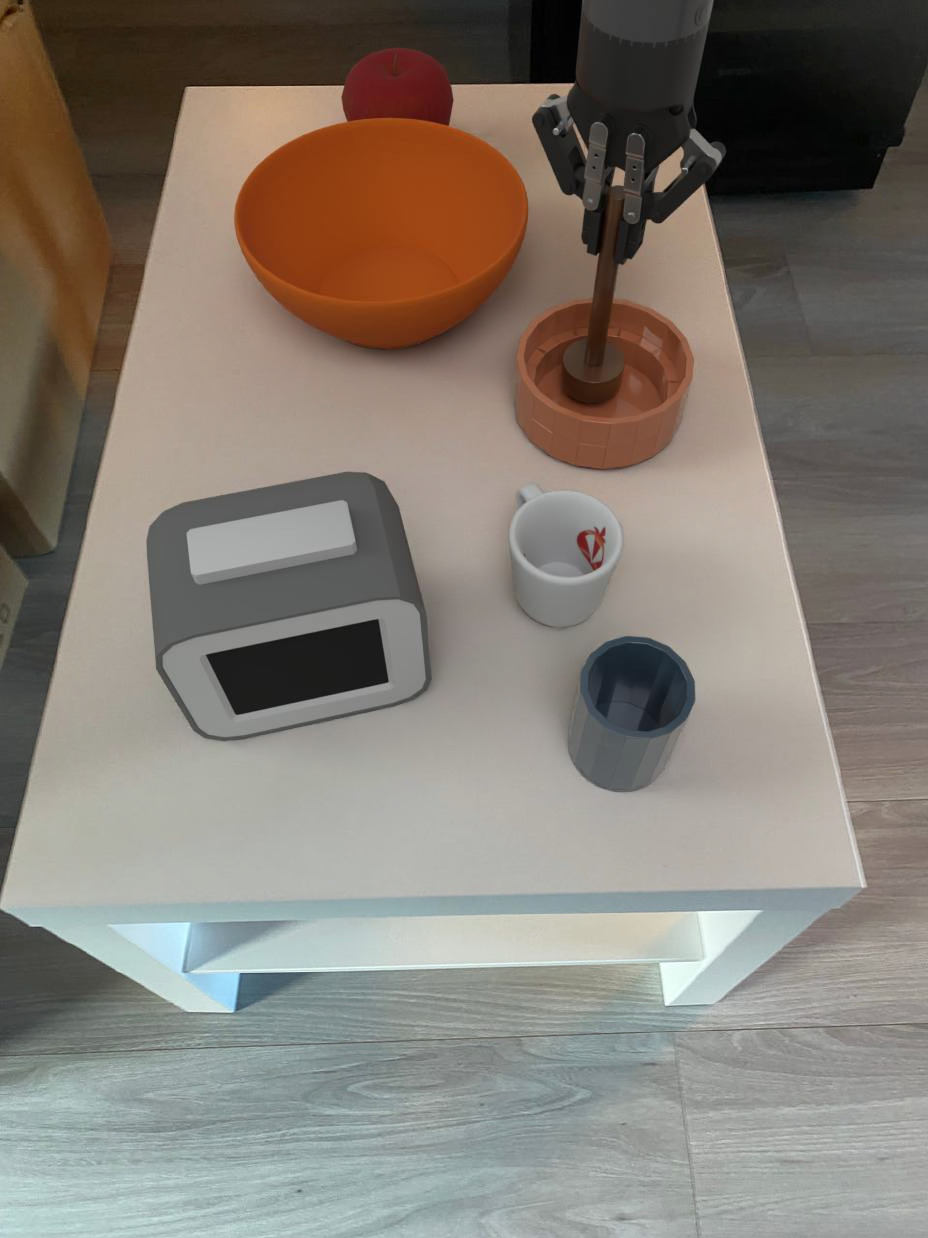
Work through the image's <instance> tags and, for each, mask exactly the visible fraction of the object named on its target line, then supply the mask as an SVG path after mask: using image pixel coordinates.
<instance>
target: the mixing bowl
mask: <svg viewBox="0 0 928 1238" xmlns="http://www.w3.org/2000/svg"><path fill="white" fill-rule="evenodd" d="M592 299H593V297H586V298H577V299H572V300H568V301H566V302H564V303H560V304H557V305H555V306H552V307H550V308H548V309H546V311H544V312H542V313H541V314H539V315H538V316H537V317H535V318H534V319H533V320H532V321H531V322H530V323H529V324H528V326H527V328H526V329H525V331H524V332H523V333H522V335H521V336H520V338H519V343H518V346H517V350H516V351H517V352H516V356H515V372H514V373H515V375H514V395H513V406H514V410H515V411H514V412H515V414H516V419H517V423H518V424H519V426H520V428H521V429H522V430H523V432H524V433H525V435H526V436H527V438H528V439H529V440H530V441H531V442H532V443H533V444H534V445H536V447H538V448H539V449H541V450H542V451H544V452H545V453H546V454H547V455H549V456H550V457H553V458H555V459H557V460H560V461H563V462H565V463H567V464H569V465H572V466H578V467H586V468H593V469H600V470H605V469H615V468H623V467H631V466H633V465H635V464H638V463H640V462H643V461H645V460H649V459H650V458H652V457H654V456H655V455H657V454H658V453H659V452H660V451H661V450H662V449H664V448H665V447H667V446H668V445H669V444H670V443H671V441H672V439H673V438H674V436H675V434H676V432H677V431H678V429H679V427H680V424H681V422H682V418H683V416H684V415H683V414H684V410H685V408H686V403H687V401H688V400H687V399H688V397H689V393H690V389H691V385H692V381H693V378H694V366H695V365H694V363H695V357H694V355H693V351H692V349H691V346H690V344H689V341H688V339H687V337H686V336H685V335H684V334H683V332H682V331H681V330H680V329H679V328H678V327H677V325H676V324H675V323H674V322H673V321H672V320H671V319H669V318H667V317H666V316H665V315H662V314H661V313H659V312H658V311H656V310H654V309H653V308H652V307H649V306H646V305H642V304H639V303H637V302H633V301H631V300H628V299H624V298H623V299H621V298H613V305H612V311H611V317H610V323H609V329H608V335H607V341H608V342H610V343H612V344H614V345H615V346H617V347H618V348H619V349H620V350H621V352H622V353H623V356H624V359H625V366H624V371H623V377H622V382H621V387H620V389H619V391H618V392H617V394H616V395H615V396H613V397H612V398H610V399H609V400H606V401H603V402H599V403H586V402H581V401H578V400H576V399H574V398H572V397H571V396H569V395H568V394H567V393H566V392H565V391H564V389H563V388H562V385H561V382H560V377H561V368H562V359H563V354H564V352H565V350H566V349H567V347H568V346H570V345H571V344H572V343H574V342H576V341H578V340H582V339H587V335H588V328H589V321H590V314H591V306H592Z"/></svg>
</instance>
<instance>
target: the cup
mask: <svg viewBox="0 0 928 1238" xmlns="http://www.w3.org/2000/svg"><path fill="white" fill-rule="evenodd" d="M515 507H516V512H515V513H514V515H513V517H512V518H511V521H510V524H509V528H508V540H507V541H508V548H509V557H510V565H511V573H512V582H513V589H514V593H515V596H516V597H515V598H516V599H517V602H518V603H519V604H518V605H519V606H520V607H521V609H522V610H523V612H525V614H526V615H528V617H530V618H531V619H532V620H534V621H536V622H538V623H540V624H542V625H544V626H549V627H553V628H555V627H556V628H566V627H572V626H575V625H578V624H580V623H582V622H584V621H586V620H587V619H588V618H590V617H591V616H592V615H593V614H594V613H595V612H596V611H597V610H598V608H599V607H600V606H601V603H602V602H603V600H604V597H605V595H606V592H607V590H608V588H609V585H610V583H611V580H612V578H613V576H614V573H615V571H616V568H617V566H618V564H619V561H620V559H621V557H622V554H623V550H624V546H625V545H624V544H625V537H624V536H625V535H624V530H623V527H622V524H621V521H620V520H619V518H618V516H617V515H616V514H615V512H614V511H613V510H612V509H611V507H609V506H608V505H607V504H606V503H605V502H603V501H602V500H601V499H599V498H596V497H595V496H593V495H590V494H589V493H585V492H581V491H578V490H570V489H569V490H568V489H558V490H551V491H546V492H544V490H543V489H542V488H541V487H540V485H538V484H537V483H536V482H528V483H525V484H522V485H520V486H518V488H517V489H516V494H515Z"/></svg>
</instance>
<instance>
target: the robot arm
mask: <svg viewBox="0 0 928 1238" xmlns="http://www.w3.org/2000/svg"><path fill="white" fill-rule="evenodd" d="M713 6H714V0H582V3H581V14H580V24H579V32H578V33H579V34H578V44H577V54H576V66H575V77H576V78H575V81H574V83H573V86H572V87H571V88H570V89H569V91H568V92H567V93H568V94H566V95H564V96H560V95H559V94H557V93H552V94H549V96H548V97H547V98H546V99H545V100H544V101H543V102H542V103H541V105H539V107H538V108H537V110H536V111H535V112H534V114H533V115H532V117H531V123H532V125H533V127H534V131H535V132H536V135H537V138H538V140H539V142H540V144H541V146H542V148H543V151H544V154H545V156H546V159H547V160H548V163H549V165H550V168H551V170H552V173H553V175H554V177H555V180H556V181H557V184H558V186H559V188H560V190H561V192H562V193H563V194H564V195H566V196H573V195H575V196H576V197H577V198H578V199H580V200H581V203H582V206H583V207H584V210H583V218H582V227H581V235H580V237H581V243H582V244H583V245H586V253H587V254H589V255H592V256H595V257H598V255H599V249H600V241H601V234H602V227H603V220H604V213H605V205H606V198H607V191H608V189H609V188H610V187H612V186H613V183H614V178H615V174H616V173H615V172H616V168H618V169H619V170H621V171H623V172H624V178H623V186H624V187H623V192H625V201H624V211H623V217H622V219H621V220H620V224H619V231H618V237H617V244H616V250H615V256H614V262H615V263H618V264H619V265H621V266H624V265H626V262H627V261H628V260H631V261H632V260H633V258H634V257H635V255H636V254H637V253H638V251H639V250H640V248H641V247H642V245H643V243H644V237H645V232H646V226H647V221H651V222H652V223H654V224H657V225H660V224H663V223H664V222H665V221H666V220H667V219H668V218H669V217H670V216H671V215H672V214H674V212H675V211H677V210H678V209H679V208H680V207H681V206H682V205H683V204H684V203H685V202H686V201H687V200H688V199H689V198H690V197H691V196H692V195H694V194H695V193H696V192H697V191H698V190H699V189H700V188H701V187H702V186H703V185H704V184H706V182H707V181H708V180H710V179H711V177H712V176H713V174H714V173H715V171H716V170H717V168H718V167H719V165H720V164H721V162H722V161H723V159H724V157H725V156H726V153H727V149H726V146H725V144H723V143H722V142H720V141H713V142H711V143H709V142H708V141H707V140H706V139H705V138H704V137H703V136H702V134H701V133H700V132H699V131H697V130H696V126H697V114H696V111H695V106H694V98H695V93H696V89H697V83H698V79H699V73H700V68H701V64H702V59H703V54H704V50H705V45H706V39H707V36H708V35H707V34H708V30H709V25H710V20H711V15H712V11H713ZM574 125H575V127H576V129H577V131H578V134H579V136H580V138H581V139H582V142H583V144H584V146H585V148H586V150H587V154H586V155H585V152H584V149H583V148H582V146H581V143H580V139H579V137H578V135H577V132H576V130H575V128H574ZM680 148H682V150H683V151H682V152H683V157H682V158H681V160H680V162H679V168H680V171H681V172H680V173H679V174H678V175H677V176H676V177H675V178H674V179H673V180H672V181H671V182H670V183H669V184H668V185H667V186H666V187H665V188H664V189H663V190H662V191H655V184H656V178H657V174H658V172H659V169H660V165H661V164H663V163H664V162H665V161H666V160H667V159H669V158H670V157H671V156H672V155H673V154H674V153H676V152H677V151H678V150H680Z"/></svg>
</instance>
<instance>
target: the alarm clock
mask: <svg viewBox="0 0 928 1238" xmlns="http://www.w3.org/2000/svg"><path fill="white" fill-rule="evenodd" d="M145 543H146V562H147V571H148V572H147V573H148V583H149V584H148V586H149V597H150V611H151V622H152V634H153V636H152V637H153V646H154V647H153V648H154V659H155V670H156V672H157V673H158V675H159V677H160V678H161V680H162V681H163V683H164V685H165V686H166V688H167V690H168V691H169V693H170V695H171V696H172V698H173V700H174V701H175V703H176V704H177V706H178V708H179V710H180V711H181V712H182V715H183V716H184V718H185V719H186V721H187V723H188V724H189V726H190V728H191V729H192V731H193V732H195V733H196V734H197V735H199V736H200V737H202V738H203V739H207V740H213V741H221V742H228V741H238V740H247V739H251V738H255V737H260V736H265V735H270V734H275V733H279V732H283V731H288V730H292V729H293V730H294V729H296V728H303V727H305V726H306V727H307V726H310V725H315V724H320V723H324V722H329V721H334V720H338V719H343V718H347V717H351V716H356V715H361V714H366V713H370V712H374V711H375V712H376V711H379V710H384V709H388V708H393V707H396V706H399V705H402V704H405V703H408V702H411V701H414V700H415V699H417V698H418V697H419V696H420V695H422V694H423V693H425V692H427V690H428V688H429V686H430V684H431V681H432V669H431V655H430V645H429V634H428V621H427V611H426V607H425V604H424V599H423V595H422V591H421V588H420V584H419V580H418V575H417V572H416V569H415V564H414V561H413V557H412V552H411V549H410V545H409V540H408V537H407V533H406V530H405V526H404V522H403V518H402V513H401V509H400V506H399V504H398V503H397V501H396V499H395V498H394V496H393V494H392V492H391V490H390V489H389V487H388V485H387V483H386V481H385V480H382V479H380V478H379V477H376V476H374V475H372V474H370V473H368V472H365V471H342V472H337V473H332V474H327V475H322V476H316V477H311V478H305V479H301V480H294V481H289V482H285V483H279V484H274V485H268V486H263V487H257V488H252V489H246V490H242V491H237V492H231V493H227V494H226V493H225V494H220V495H215V496H210V497H205V498H199V499H194V500H189V501H184V502H183V501H182V502H181V503H178V504H176V505H174V506H172V507H169V508H167V509H165V510H163V511H162V512H161V513H160V514H159V515H158V516H157V517H156V518H155V520H154V521H153V522H152V523H150V525H149V527H148V531H147V536H146V541H145Z"/></svg>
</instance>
